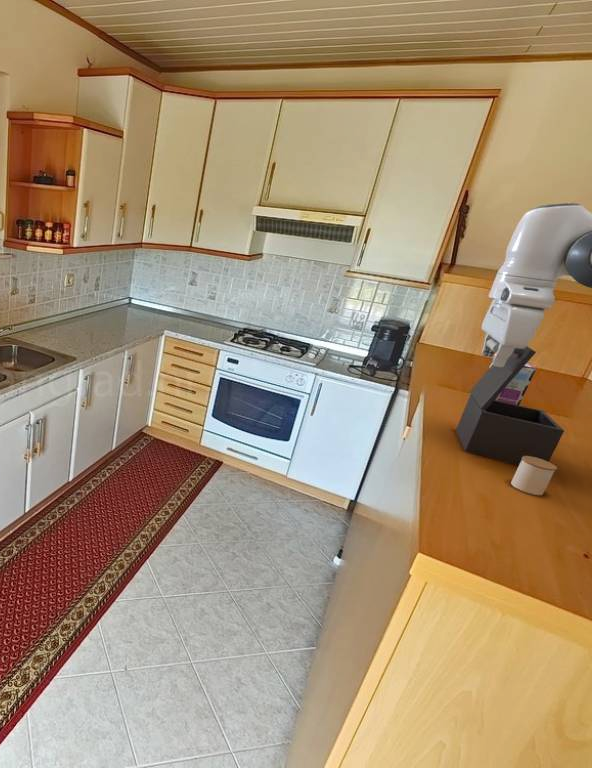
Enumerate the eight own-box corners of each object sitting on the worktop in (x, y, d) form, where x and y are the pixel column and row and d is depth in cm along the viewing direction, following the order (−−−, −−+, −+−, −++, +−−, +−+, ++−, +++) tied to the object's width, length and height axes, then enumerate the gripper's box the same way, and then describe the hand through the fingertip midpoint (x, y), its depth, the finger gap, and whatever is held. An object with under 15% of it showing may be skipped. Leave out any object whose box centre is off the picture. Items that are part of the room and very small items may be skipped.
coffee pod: (539, 487, 87) (552, 461, 85) (547, 498, 83) (560, 472, 81) (507, 478, 89) (519, 453, 87) (513, 489, 85) (526, 463, 83)
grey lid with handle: (518, 340, 100) (491, 328, 102) (536, 352, 90) (506, 339, 91) (473, 393, 106) (448, 381, 108) (485, 410, 96) (457, 397, 97)
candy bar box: (506, 437, 109) (538, 368, 103) (479, 431, 111) (509, 363, 105) (491, 421, 118) (520, 357, 113) (467, 415, 120) (493, 352, 115)
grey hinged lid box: (525, 448, 104) (543, 410, 101) (544, 471, 94) (564, 430, 91) (455, 430, 110) (470, 394, 107) (465, 451, 99) (482, 411, 96)
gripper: (488, 285, 104) (463, 347, 108) (512, 294, 87) (482, 368, 91) (525, 290, 101) (498, 354, 106) (558, 301, 84) (525, 376, 89)
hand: (491, 360), depth 98 cm, fingers open, 8 cm apart
